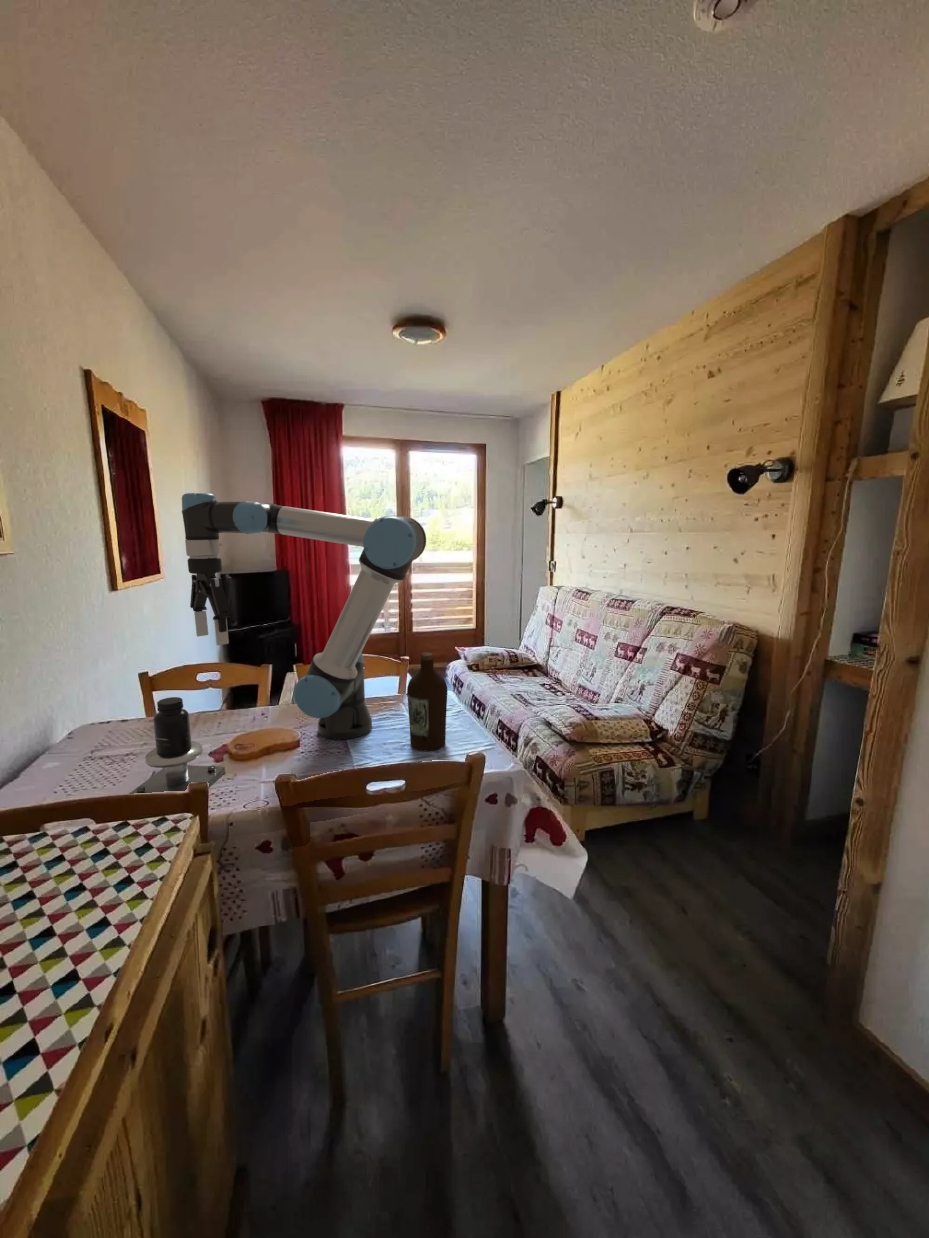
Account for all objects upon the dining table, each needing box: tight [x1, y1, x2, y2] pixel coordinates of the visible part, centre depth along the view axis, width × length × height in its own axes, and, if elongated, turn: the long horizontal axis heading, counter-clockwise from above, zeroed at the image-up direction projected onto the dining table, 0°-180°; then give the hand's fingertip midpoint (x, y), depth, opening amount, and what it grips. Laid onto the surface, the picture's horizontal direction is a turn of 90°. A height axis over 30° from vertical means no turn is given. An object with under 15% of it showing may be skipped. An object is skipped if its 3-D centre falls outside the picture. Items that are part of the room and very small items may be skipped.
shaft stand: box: [128, 740, 226, 794], centre depth 113 cm, size 14×14×8 cm
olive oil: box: [406, 652, 448, 752], centre depth 133 cm, size 11×11×25 cm
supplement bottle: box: [153, 696, 192, 758], centre depth 110 cm, size 7×7×12 cm
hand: (212, 639), depth 129 cm, fingers open, 13 cm apart
